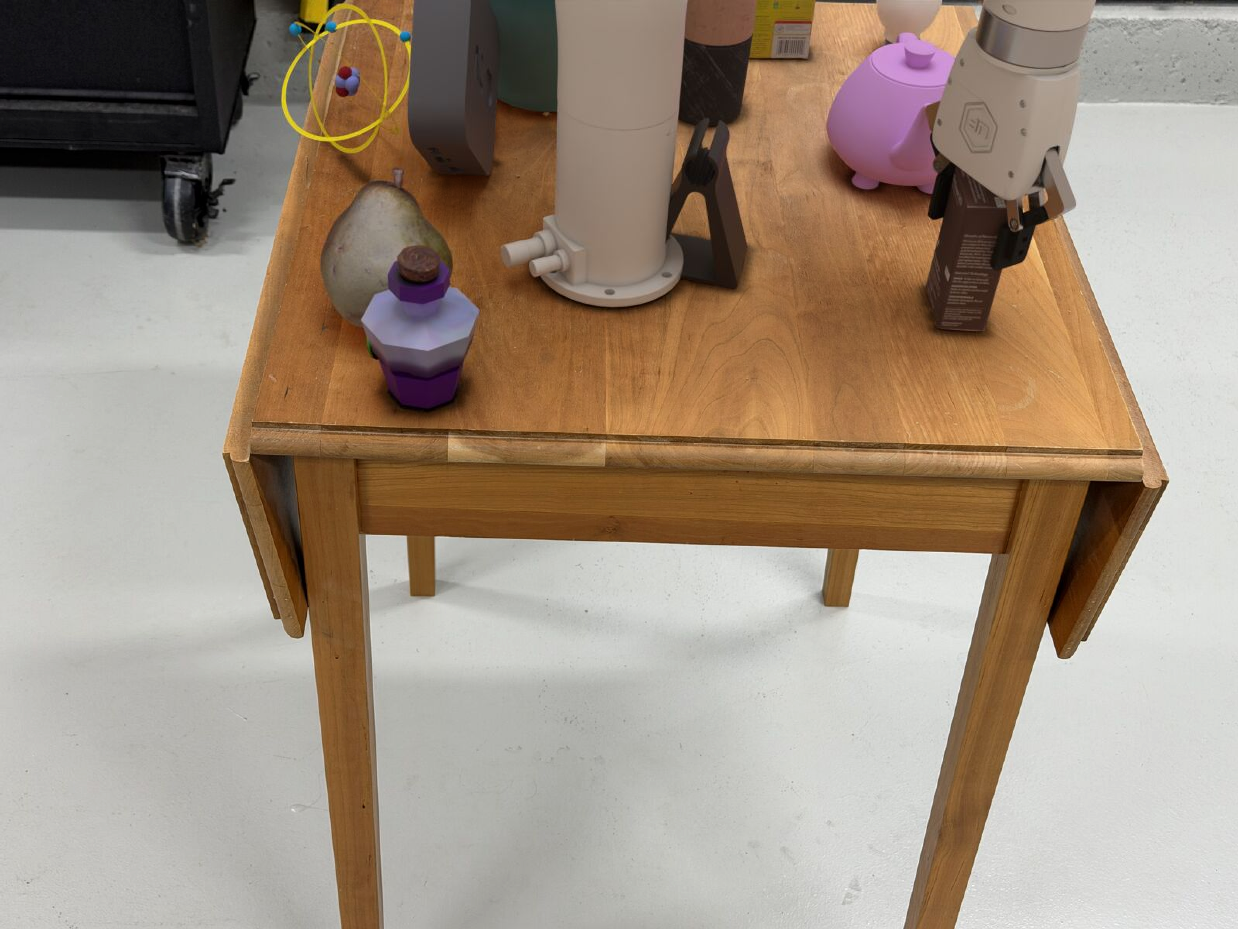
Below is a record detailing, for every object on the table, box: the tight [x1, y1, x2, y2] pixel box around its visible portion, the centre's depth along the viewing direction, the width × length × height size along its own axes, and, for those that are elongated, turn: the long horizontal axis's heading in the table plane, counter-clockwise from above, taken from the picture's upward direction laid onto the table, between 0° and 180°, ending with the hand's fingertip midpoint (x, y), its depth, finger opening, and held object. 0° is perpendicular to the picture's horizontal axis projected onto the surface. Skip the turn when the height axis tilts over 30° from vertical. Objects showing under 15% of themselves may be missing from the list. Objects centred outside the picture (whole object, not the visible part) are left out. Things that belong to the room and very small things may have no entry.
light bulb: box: [875, 0, 943, 46], centre depth 147 cm, size 7×7×11 cm
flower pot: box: [488, 0, 558, 113], centre depth 136 cm, size 18×18×17 cm
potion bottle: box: [361, 245, 480, 413], centre depth 103 cm, size 9×9×12 cm
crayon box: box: [749, 0, 817, 60], centre depth 145 cm, size 7×3×12 cm, turn 94°
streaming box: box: [407, 0, 500, 176], centre depth 123 cm, size 14×14×5 cm
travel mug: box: [678, 0, 757, 127], centre depth 133 cm, size 8×8×20 cm
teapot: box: [825, 33, 956, 195], centre depth 129 cm, size 20×14×12 cm
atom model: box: [280, 3, 412, 154], centre depth 127 cm, size 14×15×14 cm
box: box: [925, 167, 1008, 332], centre depth 113 cm, size 6×4×12 cm
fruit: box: [319, 167, 454, 329], centre depth 109 cm, size 10×9×12 cm
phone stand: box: [665, 118, 748, 290], centre depth 117 cm, size 9×6×12 cm, turn 78°
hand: (975, 237), depth 113 cm, fingers closed on box, 7 cm apart
